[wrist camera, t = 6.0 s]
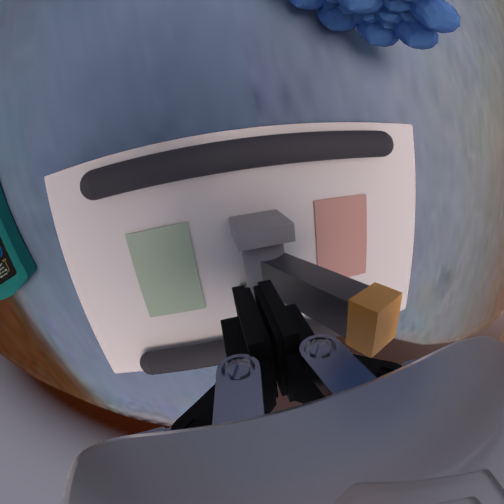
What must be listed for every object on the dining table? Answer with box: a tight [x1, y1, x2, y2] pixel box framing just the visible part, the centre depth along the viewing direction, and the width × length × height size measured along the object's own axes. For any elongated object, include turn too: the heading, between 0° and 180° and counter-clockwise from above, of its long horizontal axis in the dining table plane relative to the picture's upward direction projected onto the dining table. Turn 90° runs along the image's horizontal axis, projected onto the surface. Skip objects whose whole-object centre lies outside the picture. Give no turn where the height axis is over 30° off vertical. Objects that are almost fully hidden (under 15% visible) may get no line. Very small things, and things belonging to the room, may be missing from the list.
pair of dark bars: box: [80, 130, 394, 375], centre depth 17 cm, size 15×20×2 cm
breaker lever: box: [242, 243, 402, 358], centre depth 14 cm, size 3×2×10 cm
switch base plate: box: [44, 122, 415, 373], centre depth 18 cm, size 16×26×6 cm, turn 98°
